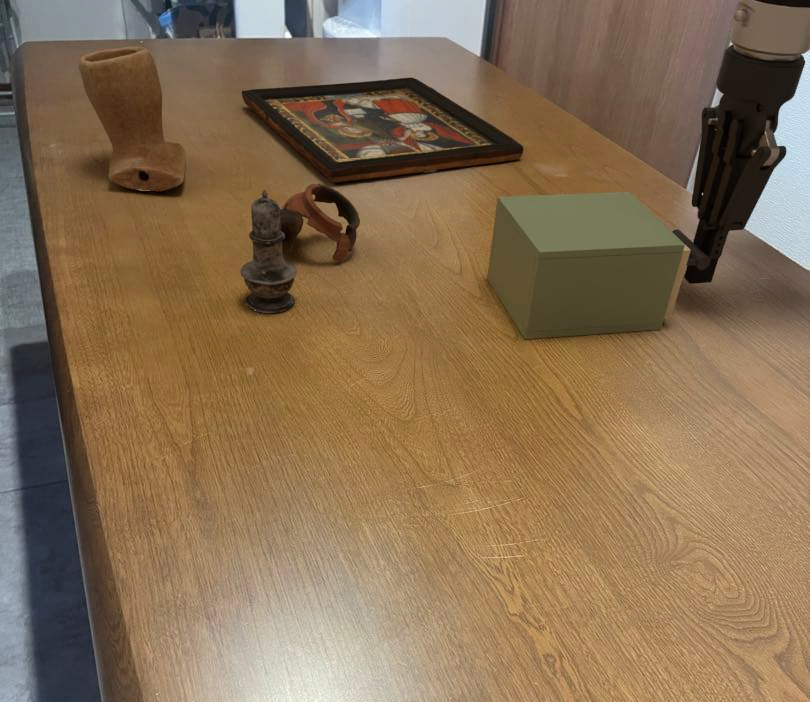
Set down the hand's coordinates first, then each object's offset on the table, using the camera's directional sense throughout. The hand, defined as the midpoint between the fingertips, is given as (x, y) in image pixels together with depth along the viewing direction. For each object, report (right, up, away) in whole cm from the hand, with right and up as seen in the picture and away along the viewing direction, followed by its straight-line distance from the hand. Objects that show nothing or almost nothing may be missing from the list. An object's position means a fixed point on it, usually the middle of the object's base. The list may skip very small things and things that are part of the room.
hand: (697, 279), depth 99 cm
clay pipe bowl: (-69, +19, +18) cm, 74 cm away
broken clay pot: (-45, +4, +4) cm, 45 cm away
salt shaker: (-48, -4, -5) cm, 48 cm away
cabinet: (-15, -3, -2) cm, 15 cm away
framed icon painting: (-38, +33, +35) cm, 61 cm away
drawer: (-11, -2, -2) cm, 11 cm away
